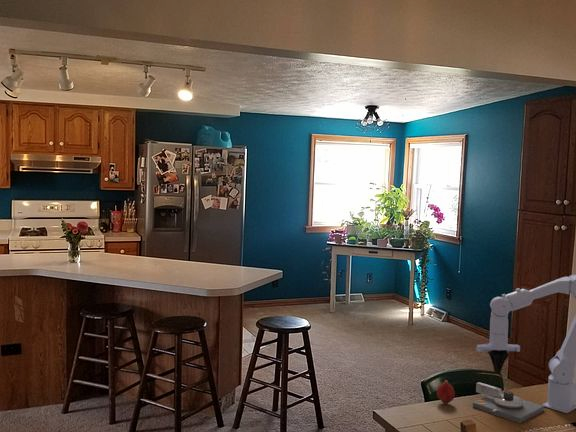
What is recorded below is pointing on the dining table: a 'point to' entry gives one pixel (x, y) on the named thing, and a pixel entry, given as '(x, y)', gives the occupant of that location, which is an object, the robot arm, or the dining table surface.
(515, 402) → the dial
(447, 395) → the onion
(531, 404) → the dial plate
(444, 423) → the dining table surface
